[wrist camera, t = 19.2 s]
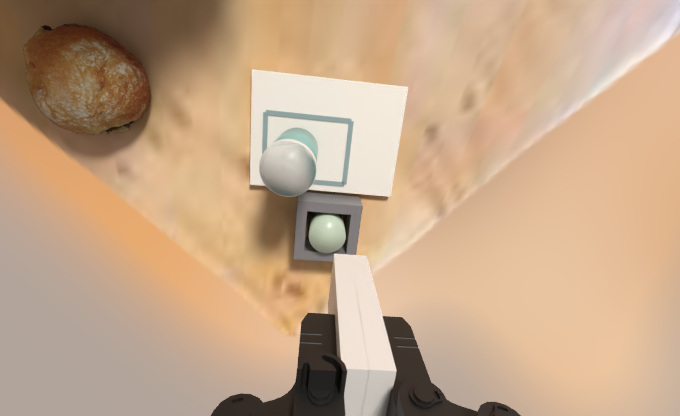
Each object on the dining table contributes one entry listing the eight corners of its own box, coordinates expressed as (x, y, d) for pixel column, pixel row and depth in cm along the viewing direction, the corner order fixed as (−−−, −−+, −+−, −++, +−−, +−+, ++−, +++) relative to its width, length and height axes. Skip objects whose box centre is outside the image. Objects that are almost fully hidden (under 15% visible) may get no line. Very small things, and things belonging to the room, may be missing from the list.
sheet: (251, 182, 39) (249, 184, 38) (253, 69, 35) (251, 69, 34) (389, 194, 40) (390, 197, 39) (406, 87, 36) (408, 87, 35)
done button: (308, 236, 41) (307, 251, 37) (311, 205, 40) (310, 217, 36) (341, 238, 41) (343, 254, 38) (345, 208, 40) (347, 220, 36)
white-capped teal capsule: (275, 164, 37) (256, 192, 27) (278, 123, 36) (261, 136, 26) (315, 170, 38) (312, 200, 28) (321, 129, 36) (320, 144, 26)
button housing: (295, 245, 42) (293, 259, 38) (299, 191, 39) (297, 200, 36) (352, 249, 42) (354, 263, 39) (359, 196, 40) (362, 206, 37)
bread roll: (108, 131, 40) (91, 170, 34) (8, 55, 33) (-35, 88, 27) (173, 82, 38) (166, 114, 32) (83, -8, 31) (55, 12, 25)
